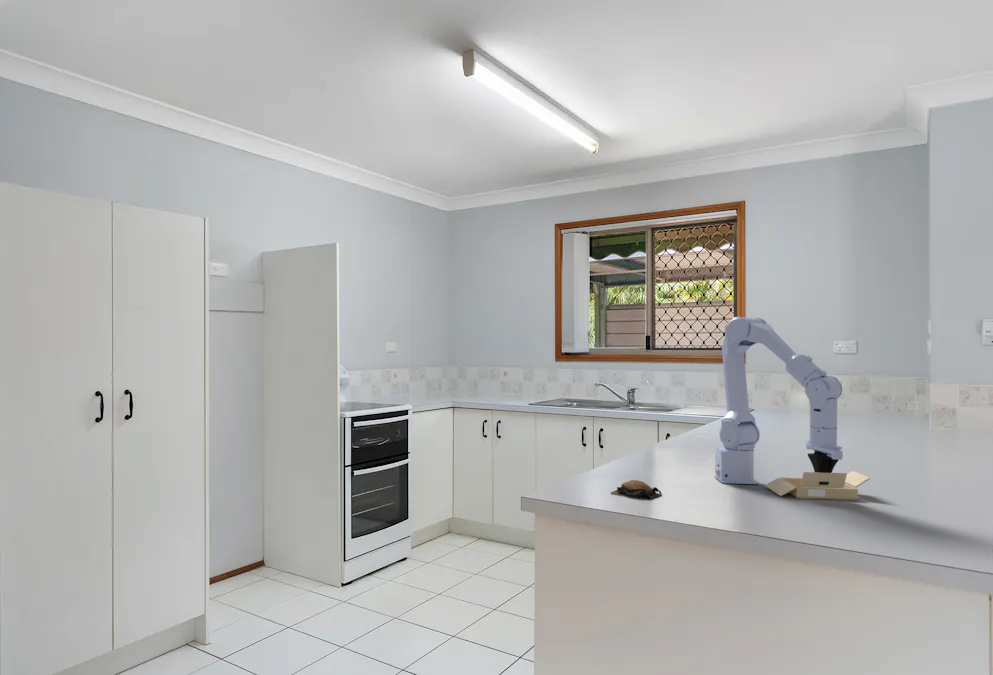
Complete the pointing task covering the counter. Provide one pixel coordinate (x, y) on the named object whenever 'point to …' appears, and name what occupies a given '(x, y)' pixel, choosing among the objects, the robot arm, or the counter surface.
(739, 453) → the robot arm
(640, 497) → the brown black domed lump
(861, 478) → the right flap
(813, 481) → the front flap
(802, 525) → the counter surface
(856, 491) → the carton
